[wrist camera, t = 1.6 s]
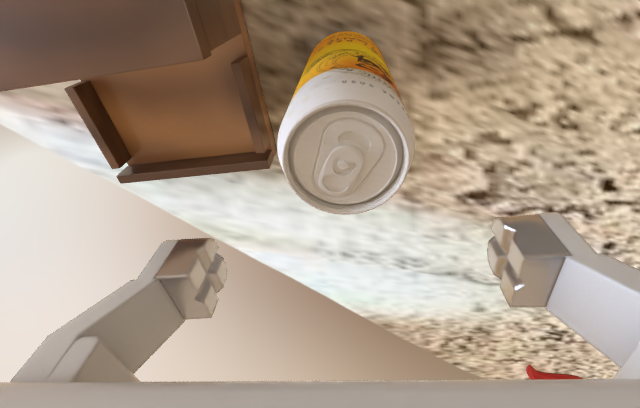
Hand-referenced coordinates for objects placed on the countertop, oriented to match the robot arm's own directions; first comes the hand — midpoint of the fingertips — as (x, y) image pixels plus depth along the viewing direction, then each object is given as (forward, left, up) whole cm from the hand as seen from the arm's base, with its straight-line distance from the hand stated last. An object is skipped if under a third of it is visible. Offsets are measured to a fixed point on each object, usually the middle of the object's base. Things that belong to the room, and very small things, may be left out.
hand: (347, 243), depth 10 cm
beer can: (0, 0, -20) cm, 20 cm away
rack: (-2, -14, -20) cm, 24 cm away
